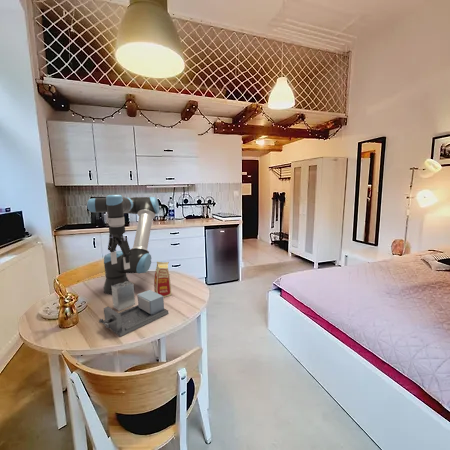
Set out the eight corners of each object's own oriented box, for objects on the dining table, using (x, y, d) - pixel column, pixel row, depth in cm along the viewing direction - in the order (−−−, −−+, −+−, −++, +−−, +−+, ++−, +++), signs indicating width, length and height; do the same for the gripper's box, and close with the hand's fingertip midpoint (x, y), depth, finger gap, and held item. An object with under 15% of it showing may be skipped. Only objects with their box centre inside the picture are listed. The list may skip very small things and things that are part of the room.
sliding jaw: (137, 307, 130) (136, 294, 128) (150, 302, 135) (149, 289, 134) (151, 315, 122) (150, 301, 121) (164, 309, 127) (163, 296, 126)
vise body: (95, 327, 116) (93, 309, 115) (150, 303, 138) (149, 289, 136) (111, 340, 106) (109, 322, 104) (168, 313, 127) (167, 297, 126)
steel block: (113, 307, 135) (111, 285, 133) (129, 301, 141) (127, 280, 139) (119, 310, 131) (116, 288, 129) (135, 304, 137) (133, 283, 135)
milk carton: (157, 298, 144) (155, 264, 140) (153, 292, 152) (151, 260, 148) (173, 295, 148) (171, 261, 144) (169, 289, 156) (167, 257, 152)
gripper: (98, 224, 134) (102, 263, 137) (121, 229, 118) (125, 273, 121) (112, 222, 139) (116, 260, 143) (136, 227, 123) (140, 269, 127)
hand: (120, 266), depth 132 cm, fingers open, 13 cm apart
